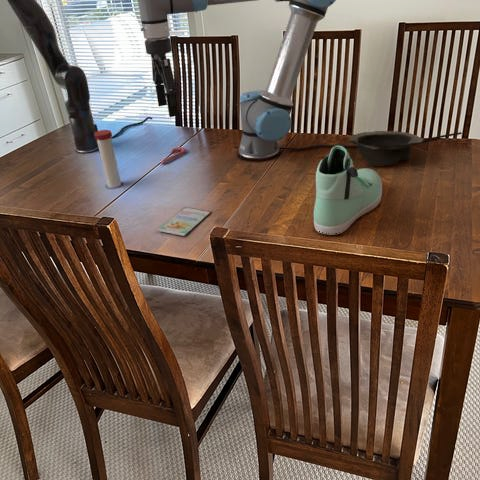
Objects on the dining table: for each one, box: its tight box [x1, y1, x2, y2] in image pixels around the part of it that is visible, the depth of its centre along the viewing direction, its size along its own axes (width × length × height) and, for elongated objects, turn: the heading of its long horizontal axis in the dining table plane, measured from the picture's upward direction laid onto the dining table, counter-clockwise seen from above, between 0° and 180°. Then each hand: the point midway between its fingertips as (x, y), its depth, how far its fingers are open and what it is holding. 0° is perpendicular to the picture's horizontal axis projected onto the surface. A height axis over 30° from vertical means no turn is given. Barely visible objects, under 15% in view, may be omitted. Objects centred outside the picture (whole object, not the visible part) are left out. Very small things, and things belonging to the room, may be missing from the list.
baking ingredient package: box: [157, 207, 211, 237], centre depth 139 cm, size 9×1×15 cm
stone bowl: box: [348, 130, 426, 167], centre depth 167 cm, size 25×25×9 cm
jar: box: [97, 137, 122, 189], centre depth 160 cm, size 5×5×18 cm
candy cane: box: [160, 146, 187, 165], centre depth 183 cm, size 6×15×2 cm, turn 145°
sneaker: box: [313, 146, 383, 236], centre depth 133 cm, size 14×35×20 cm, turn 152°
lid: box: [94, 129, 113, 140], centre depth 156 cm, size 5×5×2 cm
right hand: (168, 110), depth 151 cm, fingers open, 13 cm apart
